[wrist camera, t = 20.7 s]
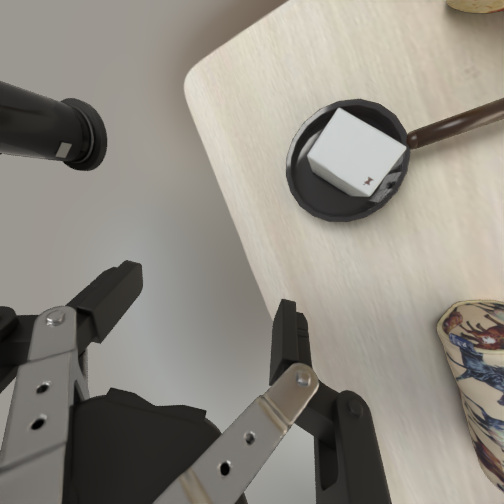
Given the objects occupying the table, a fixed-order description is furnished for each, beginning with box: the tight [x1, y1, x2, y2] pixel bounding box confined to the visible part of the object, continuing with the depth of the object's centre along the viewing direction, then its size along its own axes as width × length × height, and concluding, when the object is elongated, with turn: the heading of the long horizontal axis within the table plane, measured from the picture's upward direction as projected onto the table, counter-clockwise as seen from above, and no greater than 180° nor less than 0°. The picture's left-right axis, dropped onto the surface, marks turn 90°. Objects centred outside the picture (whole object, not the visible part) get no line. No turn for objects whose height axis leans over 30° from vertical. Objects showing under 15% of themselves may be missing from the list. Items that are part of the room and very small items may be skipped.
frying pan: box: [286, 99, 410, 222], centre depth 27 cm, size 13×13×4 cm
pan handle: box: [406, 98, 504, 150], centre depth 22 cm, size 11×2×2 cm, turn 108°
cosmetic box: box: [307, 108, 406, 197], centre depth 23 cm, size 6×4×12 cm
